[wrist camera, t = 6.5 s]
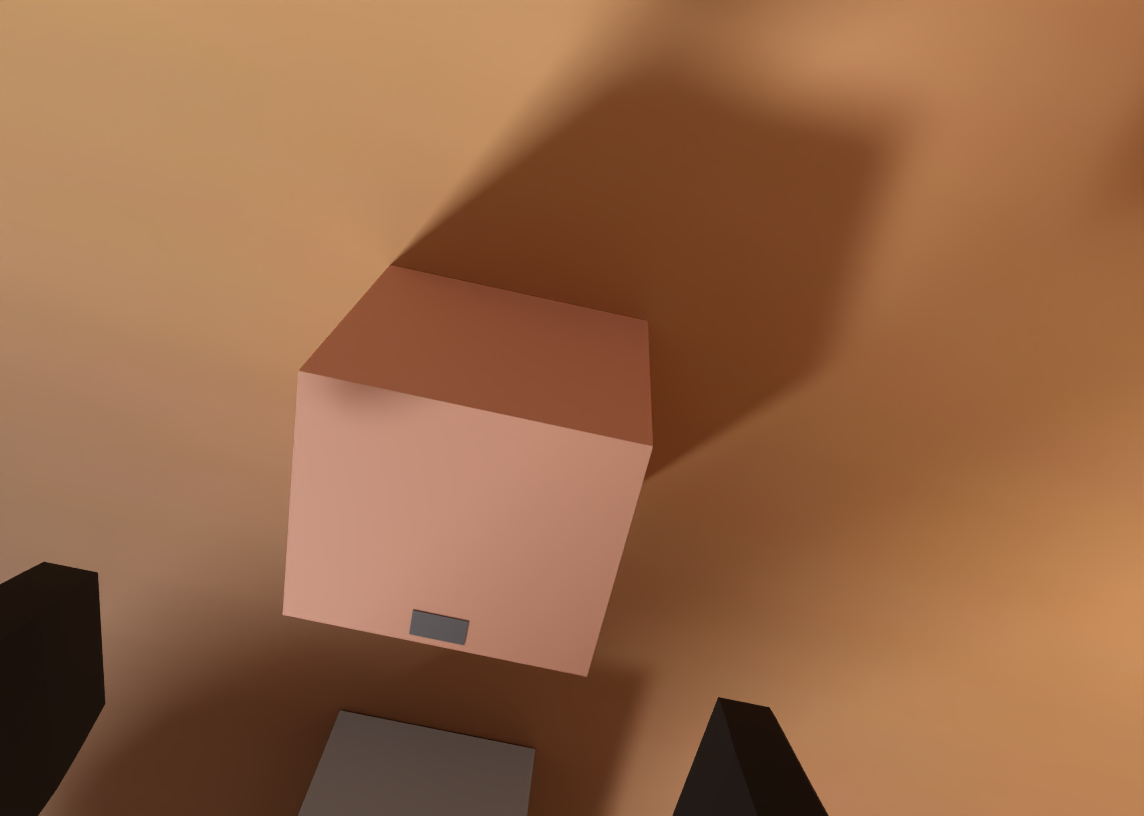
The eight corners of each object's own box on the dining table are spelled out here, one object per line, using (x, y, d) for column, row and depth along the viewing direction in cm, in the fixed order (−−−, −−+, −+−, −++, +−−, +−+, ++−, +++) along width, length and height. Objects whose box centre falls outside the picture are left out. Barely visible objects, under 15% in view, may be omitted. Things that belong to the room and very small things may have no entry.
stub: (598, 507, 18) (586, 677, 14) (369, 459, 18) (282, 615, 14) (647, 319, 16) (653, 446, 12) (391, 263, 16) (297, 371, 12)
